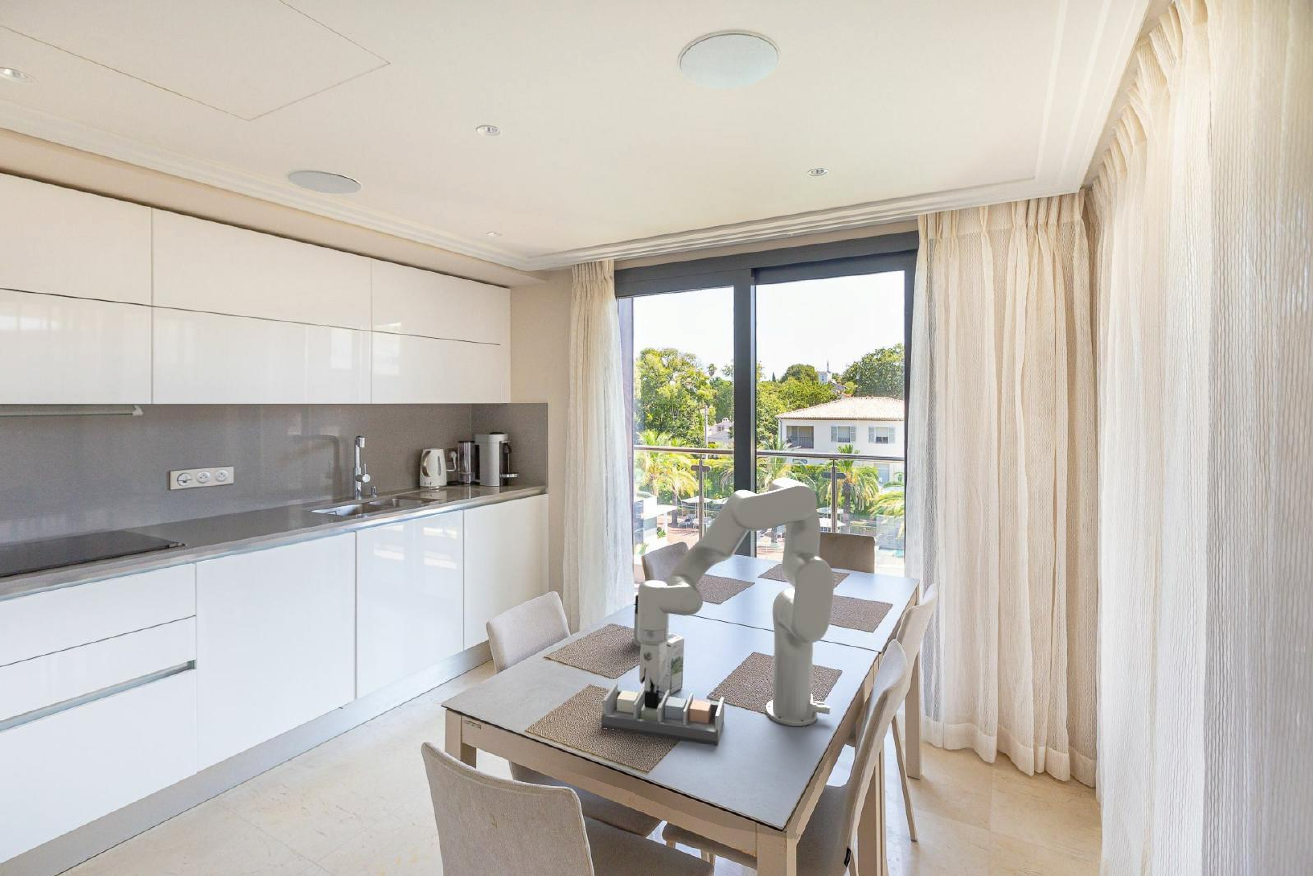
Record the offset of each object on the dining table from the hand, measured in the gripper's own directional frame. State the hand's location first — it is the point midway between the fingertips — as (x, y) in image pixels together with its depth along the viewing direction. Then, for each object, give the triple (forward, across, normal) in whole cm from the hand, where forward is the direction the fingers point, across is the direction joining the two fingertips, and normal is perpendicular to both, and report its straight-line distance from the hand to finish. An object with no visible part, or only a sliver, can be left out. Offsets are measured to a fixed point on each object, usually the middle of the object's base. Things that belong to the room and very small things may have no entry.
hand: (651, 706), depth 151 cm
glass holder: (+4, +47, +14) cm, 49 cm away
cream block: (+1, 0, +6) cm, 6 cm away
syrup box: (+4, +19, 0) cm, 20 cm away
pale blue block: (+1, 0, -6) cm, 6 cm away
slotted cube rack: (+4, 0, -3) cm, 5 cm away
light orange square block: (+1, 0, -12) cm, 12 cm away
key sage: (+3, 0, 0) cm, 3 cm away
